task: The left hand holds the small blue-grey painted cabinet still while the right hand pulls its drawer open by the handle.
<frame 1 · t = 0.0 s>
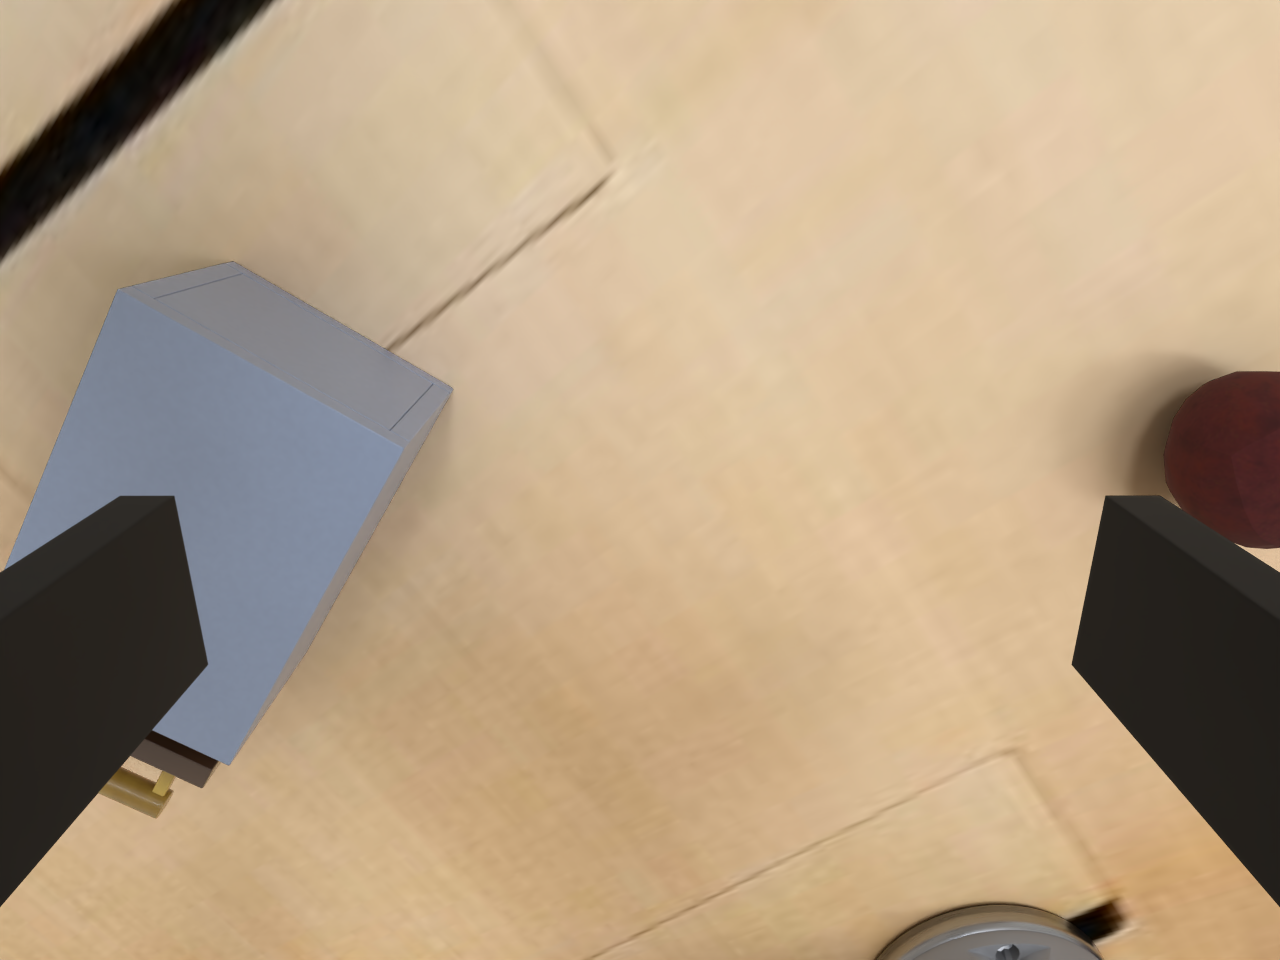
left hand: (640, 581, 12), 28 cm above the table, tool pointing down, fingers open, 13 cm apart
drawer: (180, 610, 39), point 4 cm above the table, slide at 1.5 cm
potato: (1207, 431, 41), on the table
cabinet: (272, 473, 42), on the table
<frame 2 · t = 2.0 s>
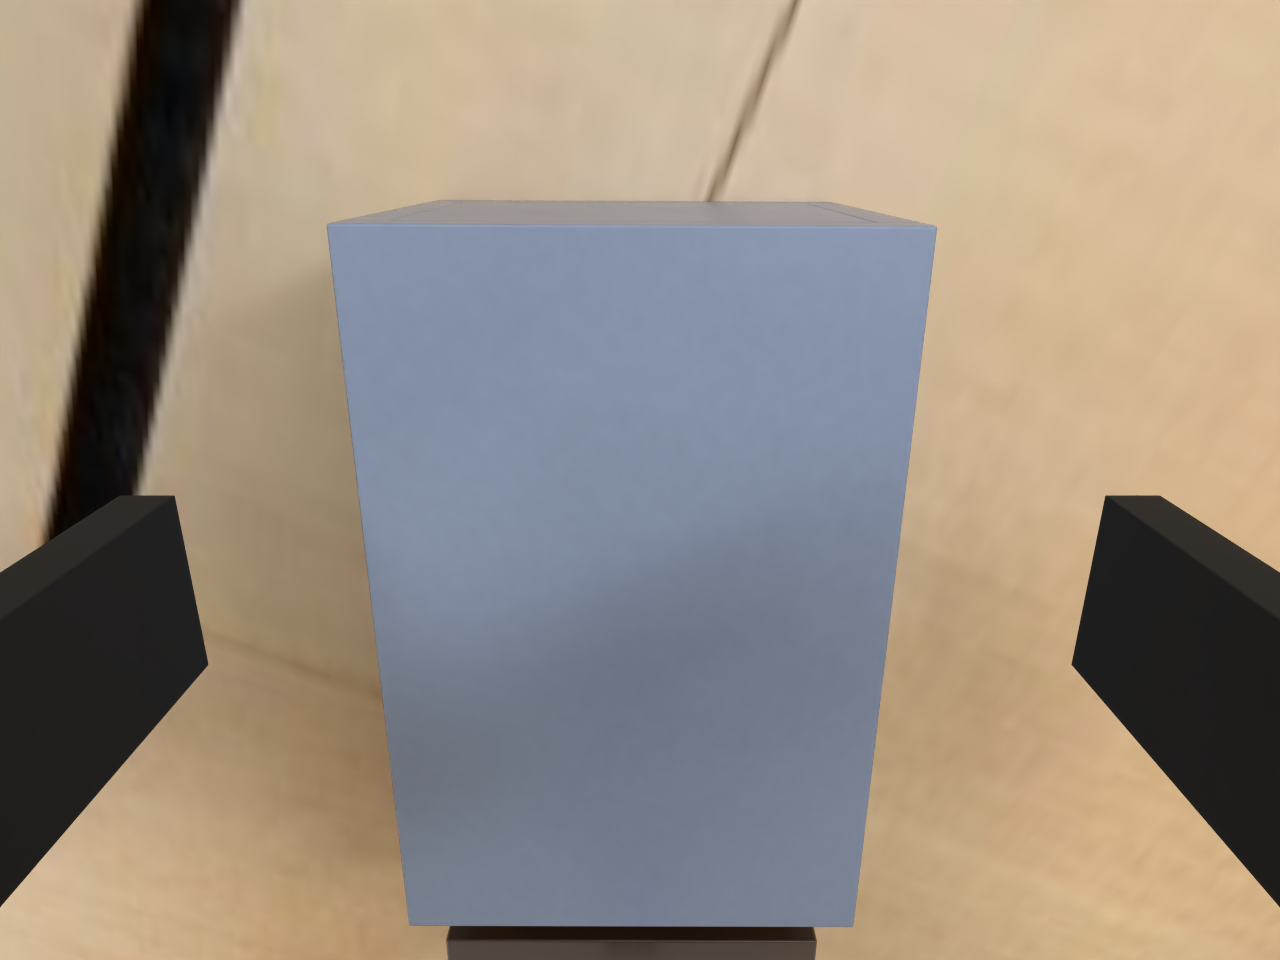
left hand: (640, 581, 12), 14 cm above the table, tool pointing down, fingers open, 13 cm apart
drawer: (632, 730, 25), point 4 cm above the table, slide at 1.5 cm
cabinet: (634, 482, 27), on the table
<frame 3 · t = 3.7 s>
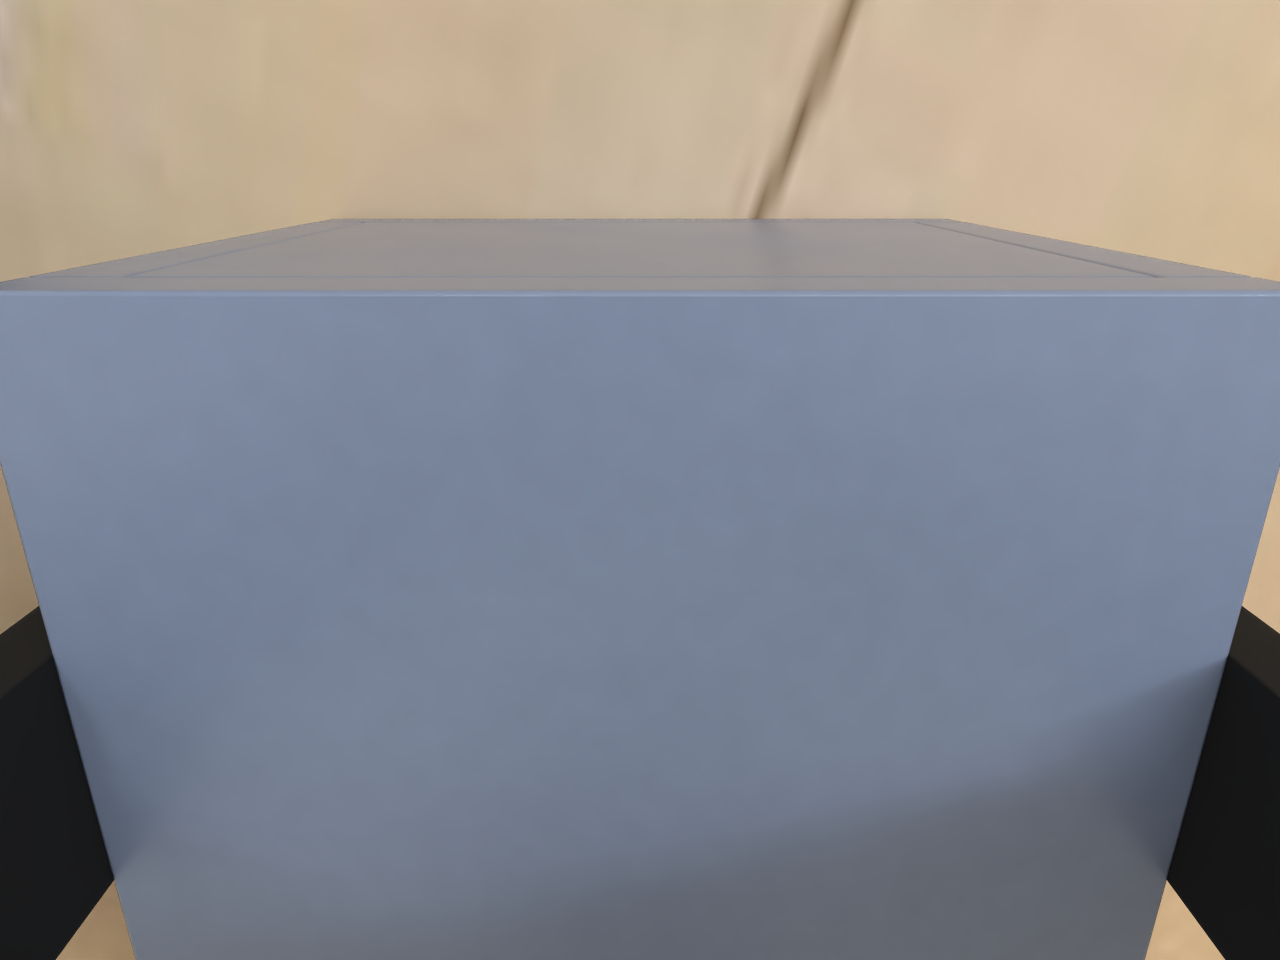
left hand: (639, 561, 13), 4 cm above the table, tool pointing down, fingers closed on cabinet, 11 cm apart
cabinet: (640, 631, 18), on the table, touching left hand
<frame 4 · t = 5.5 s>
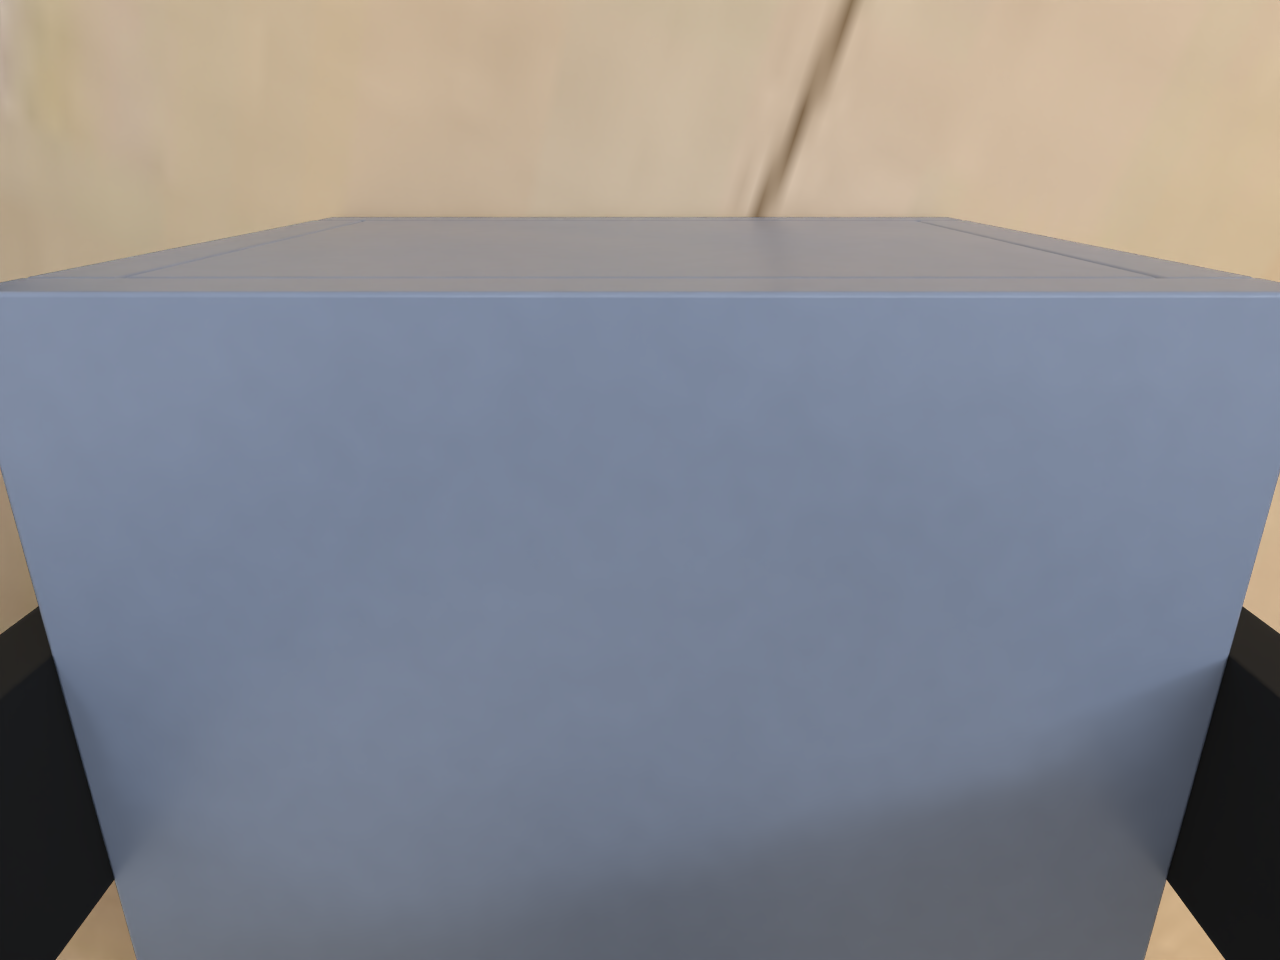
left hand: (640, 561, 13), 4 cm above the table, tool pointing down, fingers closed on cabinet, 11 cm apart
cabinet: (640, 629, 18), on the table, touching left hand
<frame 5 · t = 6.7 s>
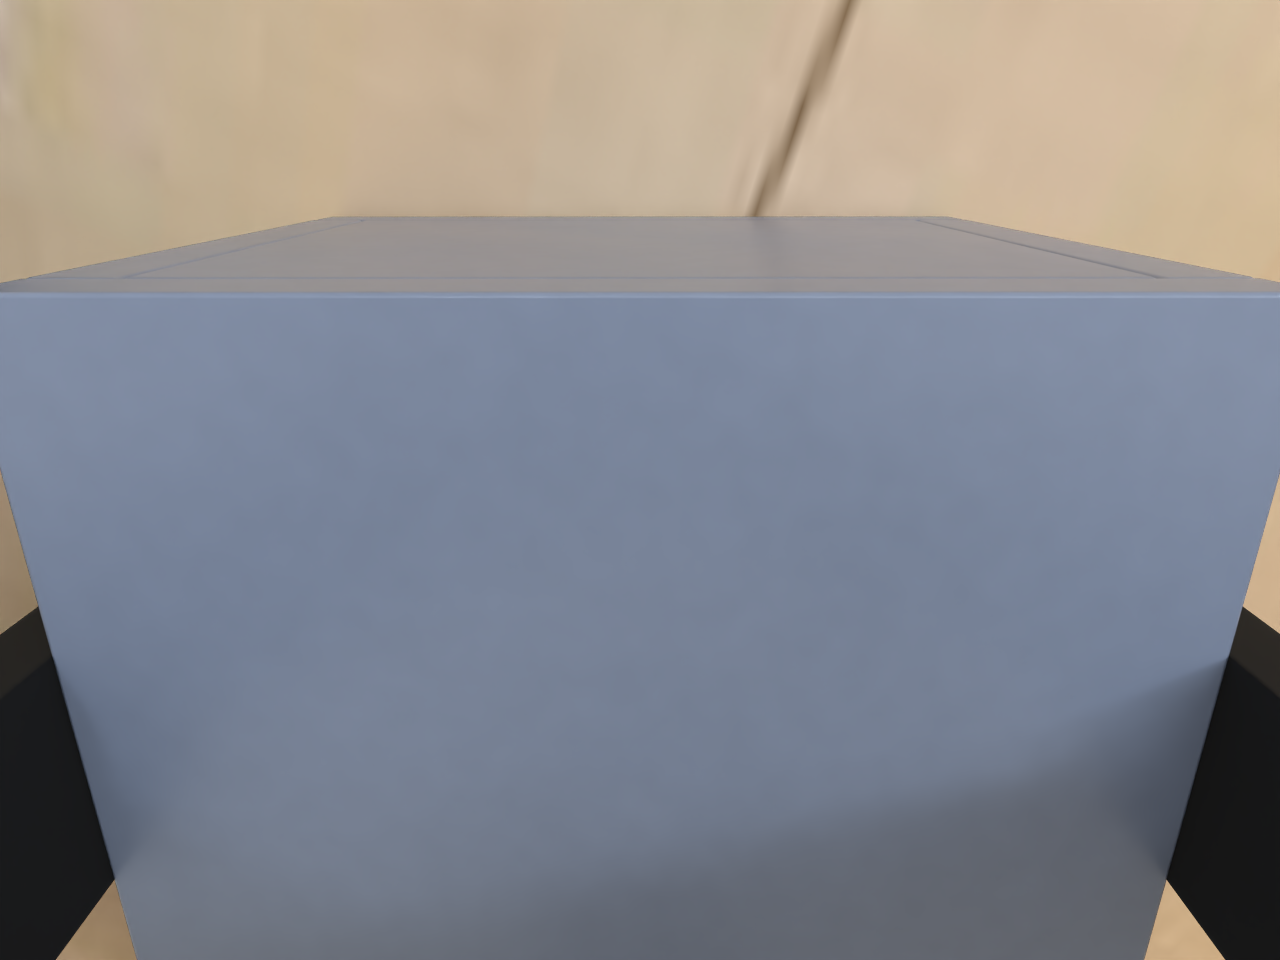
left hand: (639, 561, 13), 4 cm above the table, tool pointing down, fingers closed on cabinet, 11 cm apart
cabinet: (640, 629, 18), on the table, touching left hand
when the left hand's fingers open (4 cm above the table, at t = 8.3 s): cabinet stays where it is, on the table.
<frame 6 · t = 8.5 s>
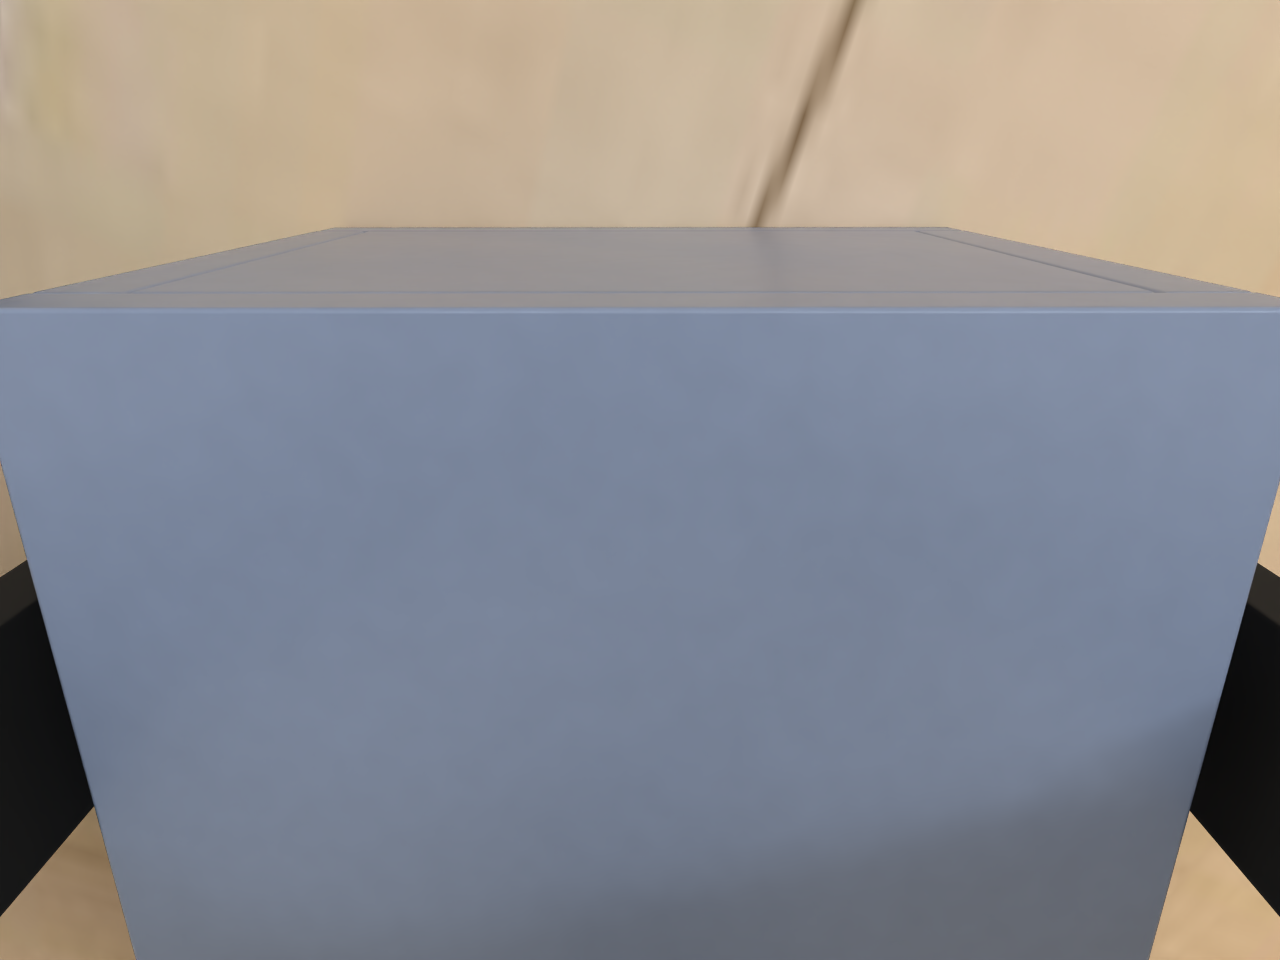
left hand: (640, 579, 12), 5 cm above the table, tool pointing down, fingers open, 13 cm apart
cabinet: (641, 637, 18), on the table
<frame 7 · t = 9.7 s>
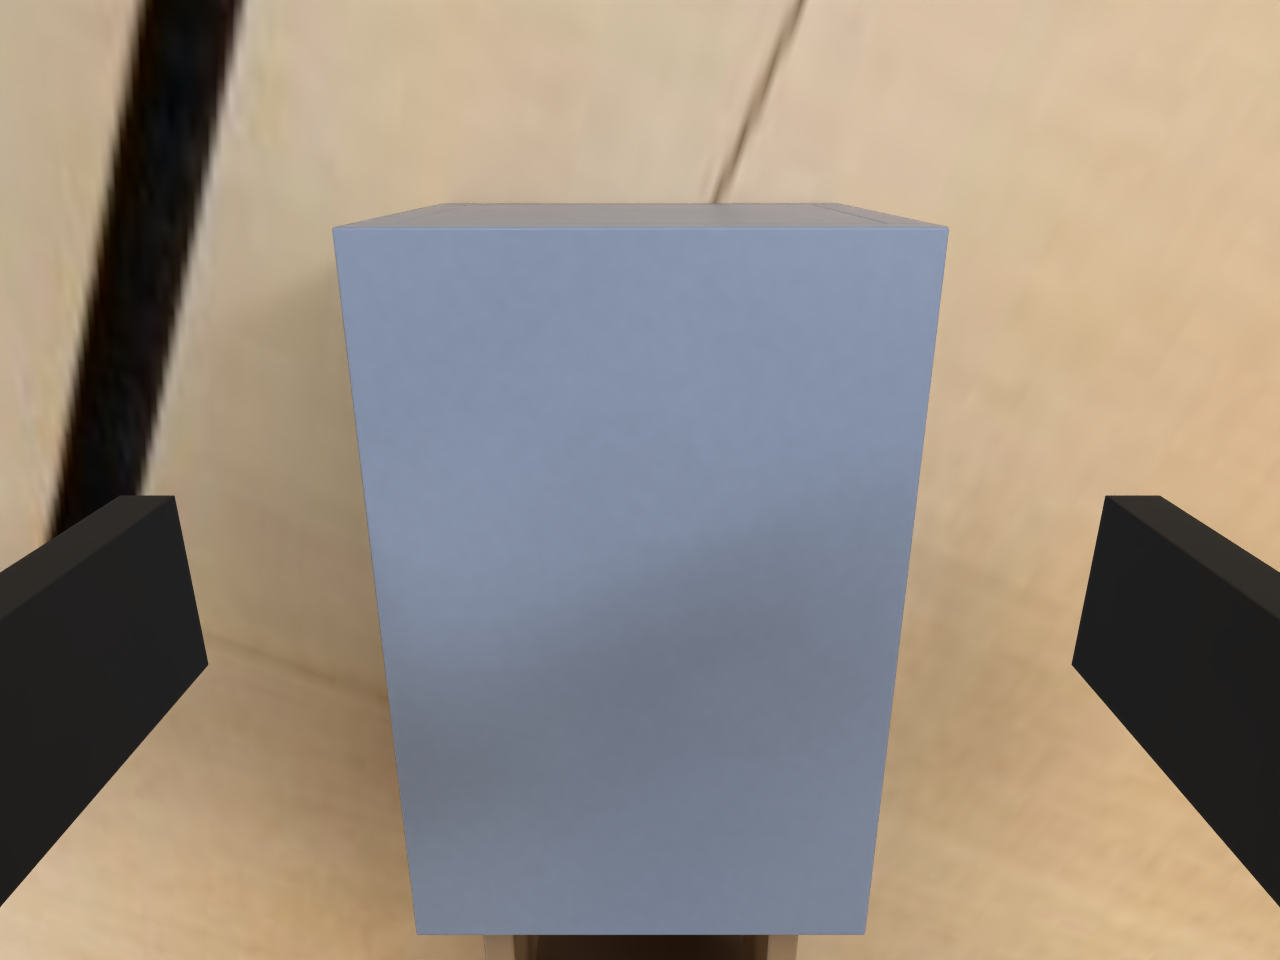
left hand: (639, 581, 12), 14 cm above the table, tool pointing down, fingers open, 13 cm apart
drawer: (640, 899, 27), point 4 cm above the table, slide at 7.5 cm
cabinet: (640, 486, 27), on the table
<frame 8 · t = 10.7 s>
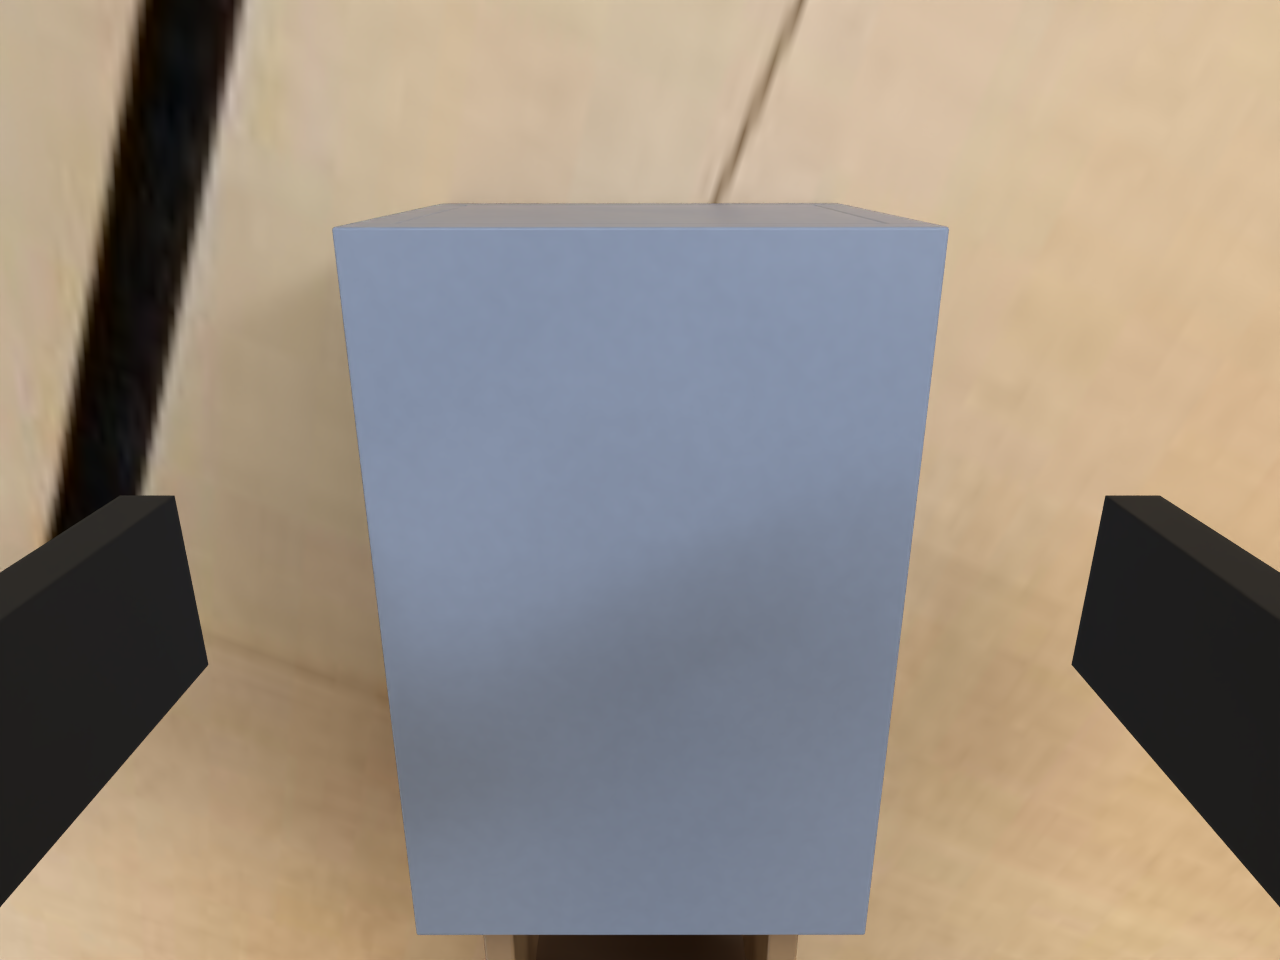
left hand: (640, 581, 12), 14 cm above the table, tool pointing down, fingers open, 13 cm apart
drawer: (640, 899, 27), point 4 cm above the table, slide at 7.5 cm
cabinet: (640, 486, 27), on the table
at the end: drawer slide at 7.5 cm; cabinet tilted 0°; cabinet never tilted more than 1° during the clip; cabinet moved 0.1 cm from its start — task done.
